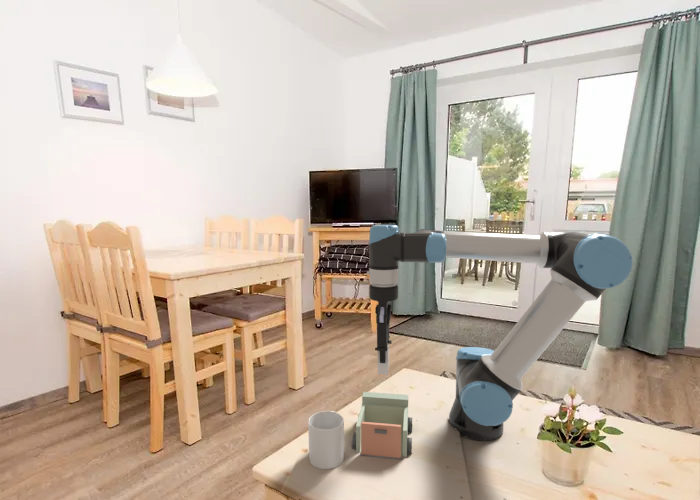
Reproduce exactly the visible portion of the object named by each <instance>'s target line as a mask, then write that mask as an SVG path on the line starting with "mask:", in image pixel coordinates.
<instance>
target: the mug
mask: <svg viewBox="0 0 700 500" xmlns="http://www.w3.org/2000/svg"><path fill="white" fill-rule="evenodd" d="M307 425H308V427H307V428H308V459H309V462H310V463H309V464H310V465H312V466H313V467H314V468H317V469H320V470H330V469H331V470H332V469H335V468H337V467H338V466H341V464H342V463H343V462H344V459H345V419H344V417H343V416H342V415H341V413H338V412H337V411H335V410H322V411H318V412H316V413H313V414H312V415H311V416H310V417H309V418H308V423H307Z"/></svg>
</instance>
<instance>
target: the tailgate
mask: <svg viewBox="0 0 700 500" xmlns="http://www.w3.org/2000/svg"><path fill="white" fill-rule="evenodd" d="M359 453H360V454H359V455H360V456H361V457H362V456H363V457H372V458H381V459H390V460H392V459H393V460H400V461H401V460H402V457H403V456H401V425H397V424H385V423H373V422H362V423H361V452H359Z"/></svg>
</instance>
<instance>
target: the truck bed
mask: <svg viewBox="0 0 700 500" xmlns="http://www.w3.org/2000/svg"><path fill="white" fill-rule="evenodd" d="M361 398H362V399H361V401H362V403H361V407H360V410H359V413H358V415H357V421H356V425H355V432H353V434H352V441H351V447H352V449H355V452H356V453H361V423H362V422H373V423H385V424H397V425H401V456H402V457H404V458H406V457H407V456H408V455H412V453H413V452H412V451H413V450H412V449H413V446H412V445H413V444H412V443H413V437H408V434H409V433H413V417H410V416H409V394H402V393H401V394H399V393H386V392H374V391H373V392H371V391H363V393H362V395H361Z"/></svg>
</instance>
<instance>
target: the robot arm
mask: <svg viewBox="0 0 700 500" xmlns="http://www.w3.org/2000/svg"><path fill="white" fill-rule="evenodd" d="M369 228H370V229H369V236H368V237H369V242H368V252H369V253H368V255H369V256H368V258H369V259H368V261H369V262H368V264H369V266H368V268H369V270H367V272H366V275H369V276H368V277H369V278H368V279H369V284H370V285H369V286H368V291H369V292H368V295H369V296H368V297H369V300H371V301H374V302H375V301H376V302H377V304H375V305H376V306H375V308H374V309H375V310H374V311H375V314H376V315H375V319H376V320H375V323H376V347H375V348H374V351H377V375H389V369H390V345H391V344H392V340H390V338H391V337H390V336H391V335H390V322H391V315H392V314H391V313H392V305H391V304H390V302H394V301H396V300H398V298H399V286H398V285H397V284H399V263H423V264H424V263H428V264H435V263H436V264H437V263H438V264H439V263H444V262H445V261H446V260H447V259H448V258H449V259H461V260H462V259H464V260H476V261H477V260H478V261H480V260H481V261H493V262H505V263H506V262H507V263H508V262H509V263H520V264H521V263H524V264H536V265H537V266H538V267H539V268H541V269H550V270H549V271H550V277H551V279H550V281H549V282H548V283H547V284H546V286H544V289H542V291H540V293H539V295H537V297H536V298H535V300H534V301H533V302H532V303H531V305H530V306H529V307H528V309H526V311H525V312H524V313H523V315H522V316H521V317H520V318H519V320H518V321H517V322H516V323H515V325H514V326H513V327H512V329H510V331H509V332H508V333H507V335H506V336H505V337H504V338H503V339H502V341H501V342H500V344H499V345H498V346H497V347H496V349H490V348H488V347H487V348H485V347H478V346H466V347H461V348H459V349H458V350H457V352H456V357H455V360H456V367H455V368H456V370H455V371H456V372H455V398H454V401H453V403H452V406H451V409H450V411H449V415H448V421H449V423H450V425H451V427H452V428H453V429H454V430H455V431H458V435H460V436H462V437H464V438H467V439H469V440H470V439H471V440H474V441H492V440H496V439H498V438H500V437H502V435H503V434H504V433H503V432H504V423H505V422H507V420H508V419H510V417H511V415H512V413H513V407H514V406H513V405H514V403H513V400H514V399H515V398H516V397H517V396H518V395H519V394H520V392H522V390H523V383H522V381H523V380H522V379H523V377H524V376H525V375H526V373H528V371H529V370H530V369H531V368H532V367H533V366H534V364H535V363H536V362H537V361H538V360H539V358H540V357H541V356H542V355H543V353H544V352H545V351H546V349H548V347H549V346H550V345H551V343H553V342H554V340H555V339H556V338H557V336H559V334H560V333H561V332H562V331H563V329H564V328H565V327H566V326H567V324H568V323H569V322H570V321H571V320H572V318H573V317H574V316H575V315H576V313H577V312H578V311H579V310H580V309H581V307H583V305H584V304H585V303H586V302H590V301H597V300H598V299H599V298H600V297H601V295H602V294H603V293H604V292H605V290H606V289H612V288H615V287H617V286H620V285H621V284H622V283H624V281H626V280H627V278H628V277H629V276H630V275H631V272H632V268H633V258H632V256H633V255H632V254H631V253H632V252H631V251H630V249H629V247H628V246H627V244H625V242H623V241H622V240H621V239H619V238H617V237H615V236H613V235H610V234H608V233H603V232H592V231H586V230H573V231H561V232H559V231H555V232H554V231H553V232H548V231H542V232H541V233H540V234H538V235H537V234H536V235H534V234H532V235H531V234H513V233H512V234H510V233H495V232H494V233H493V232H491V233H490V232H473V231H472V232H471V231H453V230H436V229H435V230H432V229H426V228H421V229H418V230H416V231H415V232H400V230H399V226H398V225H397V224H373V225H372V226H371V227H369Z"/></svg>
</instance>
